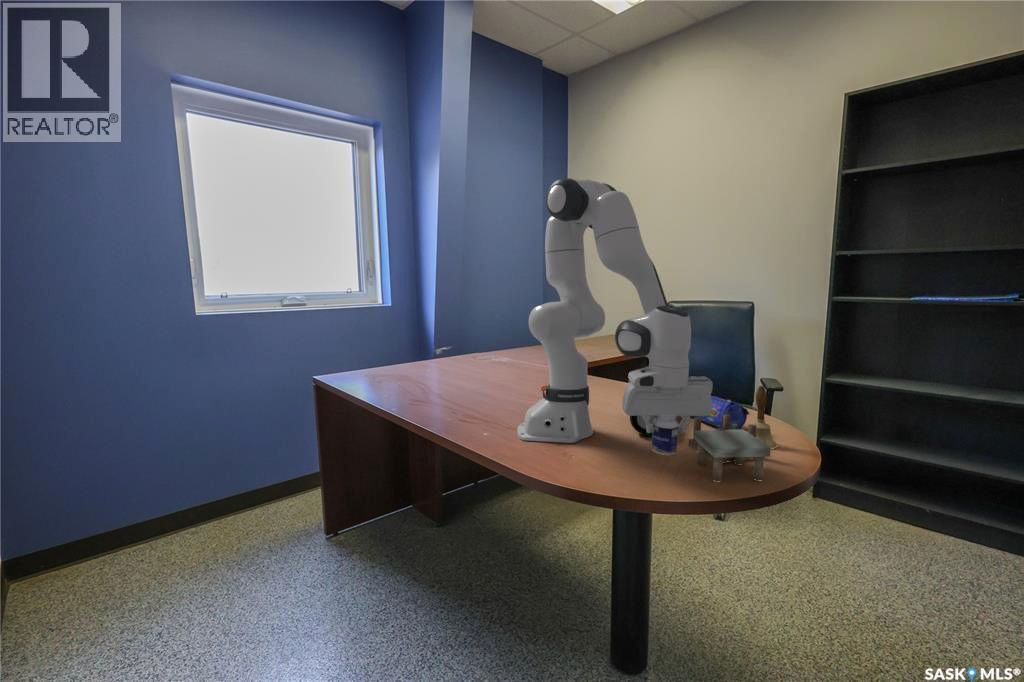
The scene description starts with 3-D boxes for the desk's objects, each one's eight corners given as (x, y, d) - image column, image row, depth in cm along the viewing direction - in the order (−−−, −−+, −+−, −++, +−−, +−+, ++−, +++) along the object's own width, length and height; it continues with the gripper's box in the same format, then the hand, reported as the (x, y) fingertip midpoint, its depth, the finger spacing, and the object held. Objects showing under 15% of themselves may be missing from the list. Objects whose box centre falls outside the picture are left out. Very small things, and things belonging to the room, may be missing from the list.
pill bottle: (646, 450, 108) (649, 411, 106) (658, 444, 112) (660, 406, 110) (669, 458, 104) (672, 417, 102) (680, 451, 108) (683, 411, 106)
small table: (713, 483, 98) (714, 448, 97) (692, 461, 110) (693, 430, 109) (768, 482, 98) (770, 447, 97) (742, 460, 110) (743, 429, 109)
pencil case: (749, 433, 129) (751, 401, 128) (725, 436, 127) (726, 404, 126) (698, 412, 150) (698, 384, 149) (676, 415, 148) (676, 386, 147)
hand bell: (759, 451, 115) (762, 391, 113) (735, 441, 123) (737, 384, 121) (785, 447, 118) (788, 388, 116) (759, 437, 126) (762, 381, 123)
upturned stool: (718, 463, 109) (719, 431, 108) (688, 446, 120) (689, 417, 119) (760, 457, 111) (761, 426, 110) (726, 441, 123) (727, 413, 122)
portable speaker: (664, 440, 125) (664, 405, 124) (627, 436, 129) (628, 402, 128) (670, 414, 149) (671, 385, 147) (639, 411, 153) (640, 383, 151)
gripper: (707, 373, 108) (703, 428, 110) (621, 372, 108) (619, 427, 110) (718, 379, 101) (714, 437, 104) (628, 379, 102) (625, 437, 104)
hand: (664, 432), depth 107 cm, fingers closed on pill bottle, 6 cm apart
